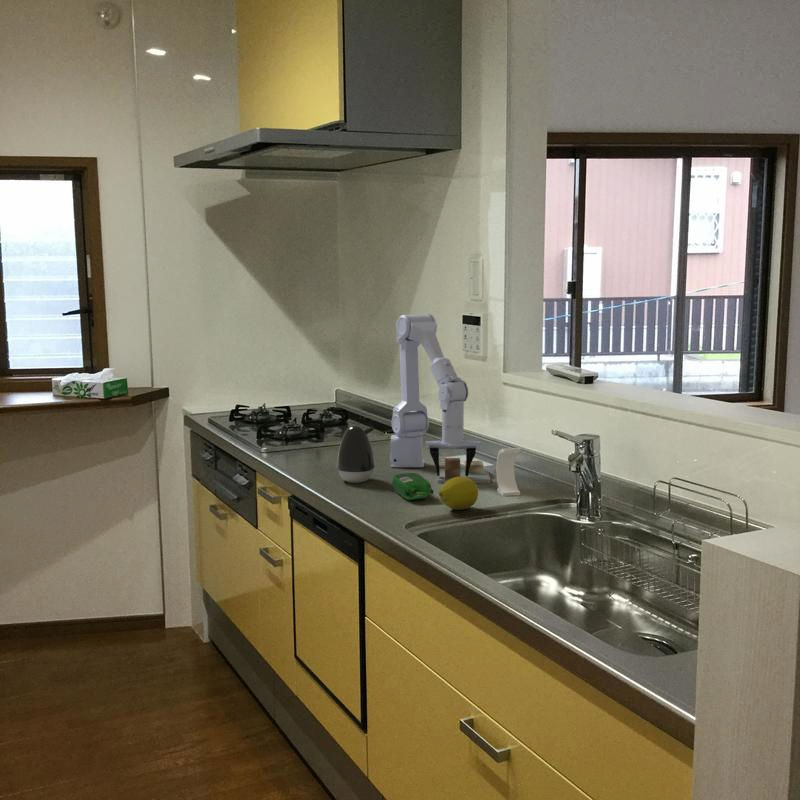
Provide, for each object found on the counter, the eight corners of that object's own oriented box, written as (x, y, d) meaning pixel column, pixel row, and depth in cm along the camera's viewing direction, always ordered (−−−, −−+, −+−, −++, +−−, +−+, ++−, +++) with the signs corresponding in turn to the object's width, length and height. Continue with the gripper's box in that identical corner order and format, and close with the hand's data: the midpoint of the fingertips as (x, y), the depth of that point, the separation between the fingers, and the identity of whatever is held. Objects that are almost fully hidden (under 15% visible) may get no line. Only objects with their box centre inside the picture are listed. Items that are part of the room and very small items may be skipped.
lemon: (470, 503, 232) (470, 471, 231) (486, 511, 225) (486, 478, 224) (430, 508, 228) (430, 476, 227) (445, 516, 221) (446, 482, 220)
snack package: (407, 505, 231) (407, 484, 231) (389, 490, 246) (389, 470, 245) (434, 503, 233) (435, 482, 233) (415, 488, 248) (416, 469, 247)
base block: (465, 473, 260) (465, 464, 260) (464, 469, 265) (464, 460, 265) (483, 473, 260) (483, 464, 260) (482, 469, 265) (482, 460, 265)
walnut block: (445, 479, 254) (445, 461, 254) (445, 475, 258) (445, 457, 258) (460, 479, 254) (460, 461, 253) (459, 475, 258) (459, 457, 257)
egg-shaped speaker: (381, 482, 254) (381, 426, 252) (346, 486, 250) (345, 430, 247) (366, 474, 263) (365, 421, 261) (331, 478, 259) (330, 423, 256)
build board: (437, 482, 254) (437, 479, 253) (437, 471, 267) (437, 468, 267) (490, 483, 253) (490, 480, 253) (487, 471, 267) (487, 468, 267)
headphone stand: (502, 496, 240) (503, 449, 238) (495, 490, 245) (496, 444, 244) (520, 495, 240) (520, 448, 239) (513, 489, 246) (513, 444, 244)
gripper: (425, 428, 250) (425, 478, 252) (480, 428, 250) (480, 478, 252) (425, 423, 257) (425, 472, 259) (479, 423, 257) (479, 473, 259)
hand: (452, 475), depth 256 cm, fingers open, 7 cm apart
